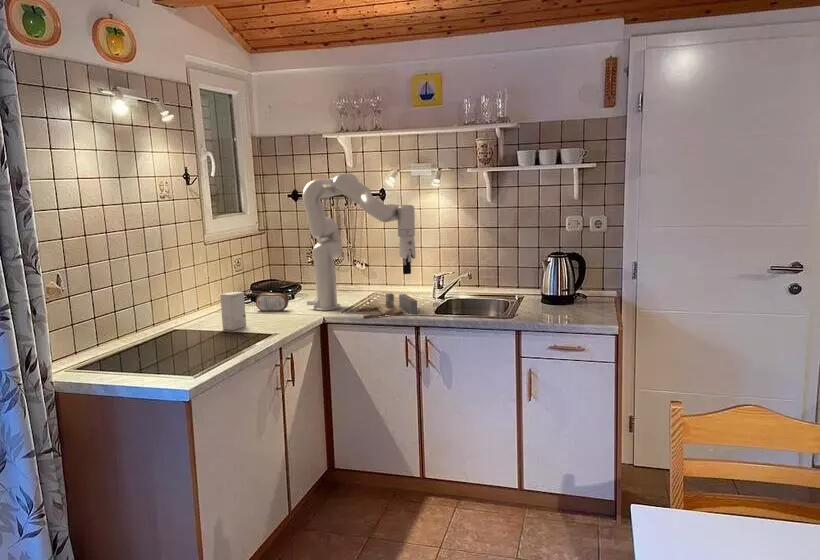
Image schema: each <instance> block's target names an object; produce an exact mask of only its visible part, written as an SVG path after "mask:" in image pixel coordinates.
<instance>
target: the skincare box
mask: <svg viewBox="0 0 820 560" xmlns="http://www.w3.org/2000/svg"><path fill="white" fill-rule="evenodd" d="M219 295H220V305H221V306H220V307H221V308H220V309H221V310H220V311H221V320H222V321H221V322H222V329H223V330H227V331H235V330H239V329H241V328H245V327H247V318H246V317H247V315H246V305H245V304H246V303H245V302H246V301H245V292H244V291H243V292H242V291H231V292H225V293H221V294H219Z"/></svg>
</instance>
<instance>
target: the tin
mask: <svg viewBox="0 0 820 560" xmlns="http://www.w3.org/2000/svg"><path fill="white" fill-rule="evenodd" d="M255 305H256V307H257V309H259V310H260V311H261V312H282V311H283V310H285V309H286V308H287V307H288V306H289V300H288V297H287V295H285V294H284V293H281V292H262V293H260V294H259V295H258V296H257V297H256V299H255Z"/></svg>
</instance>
